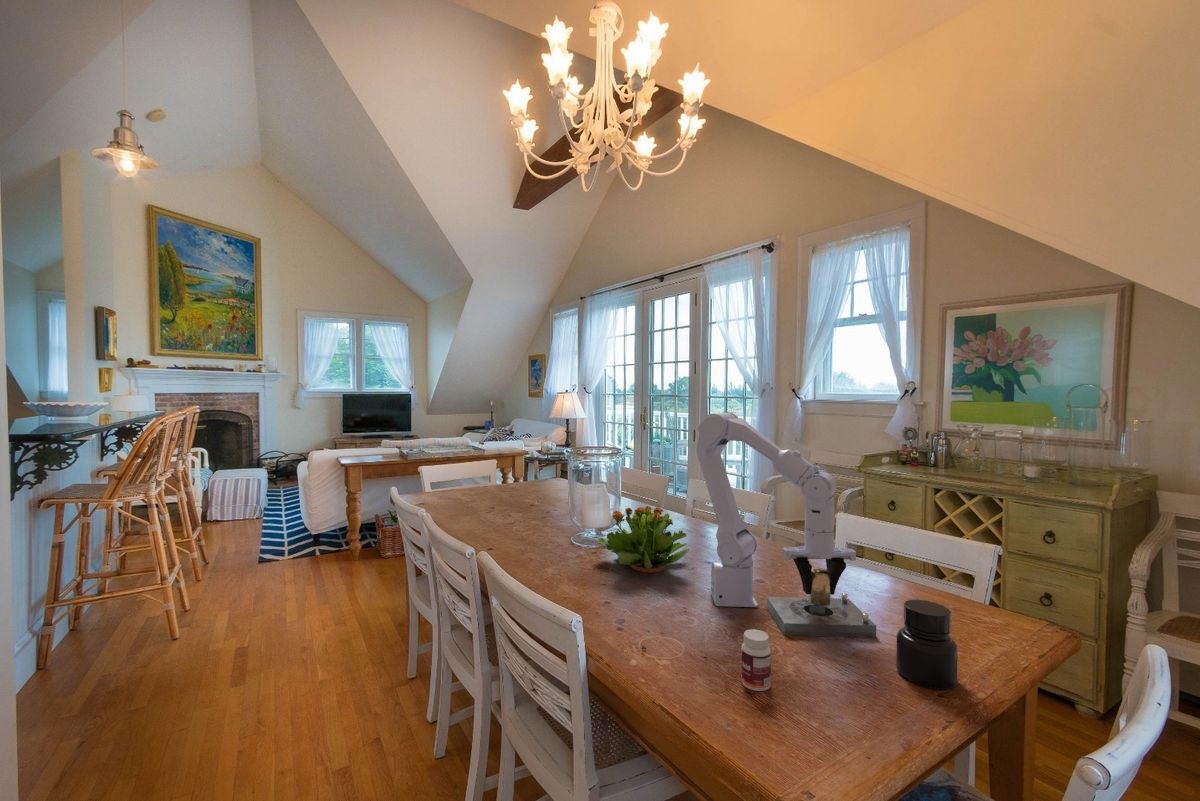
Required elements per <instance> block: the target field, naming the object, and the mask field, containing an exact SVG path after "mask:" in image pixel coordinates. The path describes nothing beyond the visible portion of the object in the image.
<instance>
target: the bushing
mask: <svg viewBox="0 0 1200 801" xmlns="http://www.w3.org/2000/svg"><path fill="white" fill-rule="evenodd" d="M807 598H808V601H809V602H810V603H812V604H815V605H819V606H827V605H830V598H831V572H830V571H829V570H827V568H823V567H815V566H812V569H811V575H810V594H807Z"/></svg>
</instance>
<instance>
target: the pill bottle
mask: <svg viewBox="0 0 1200 801" xmlns="http://www.w3.org/2000/svg"><path fill="white" fill-rule="evenodd" d="M769 640H770V638H769V634H768V633H767V632H765V631H763V630H759V629H755V628H754V629H750V628H749V629H746V630H745V631H744V633H743V643H742V644H741V651H740V652H741V656H740V657H741V659H740V660H741V661H740V663H741V664H740V667H741V668H740V675H741V676H740V677H741V678H740V679H741V680H740V681H741V684H742V685H743V686H744V687H745V688H747V689H748V690H751V691H755V692H765V691H767V690H769V689H770V687H771V683H772V682H771V679H772V678H771V676H772V674H771V673H772V671H771V670H772V668H771V667H772V649H771V647H770V646H769V645H770V644H769V642H770V641H769Z"/></svg>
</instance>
